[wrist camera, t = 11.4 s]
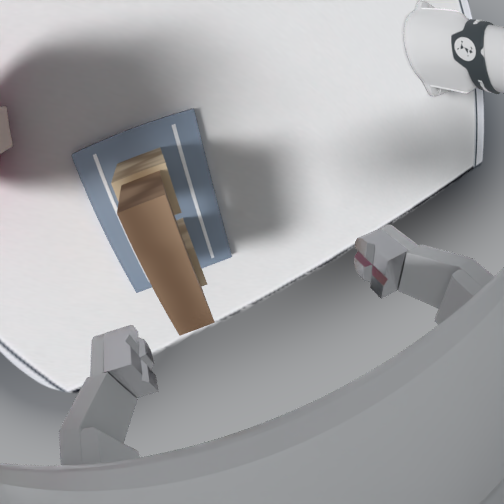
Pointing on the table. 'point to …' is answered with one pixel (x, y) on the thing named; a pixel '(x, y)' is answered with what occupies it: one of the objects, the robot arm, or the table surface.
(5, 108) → the pink dragon fruit
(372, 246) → the robot arm
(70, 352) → the table surface
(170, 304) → the walnut lintel
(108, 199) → the blueprint board
